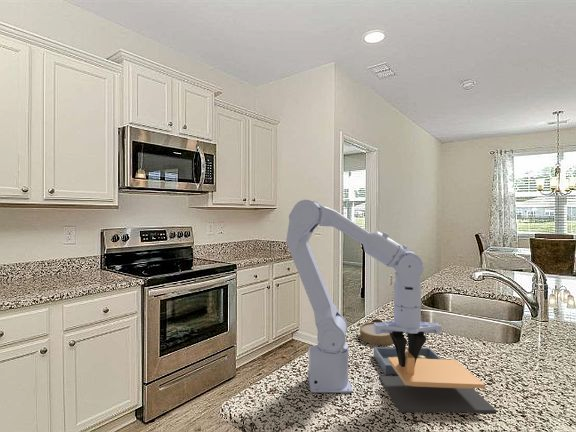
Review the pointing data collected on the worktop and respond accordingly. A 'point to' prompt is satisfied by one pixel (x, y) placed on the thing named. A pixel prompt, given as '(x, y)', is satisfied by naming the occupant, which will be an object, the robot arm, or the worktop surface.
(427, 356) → the blue-grey tray
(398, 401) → the mat
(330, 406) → the worktop surface
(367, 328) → the alarm clock
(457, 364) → the lid
